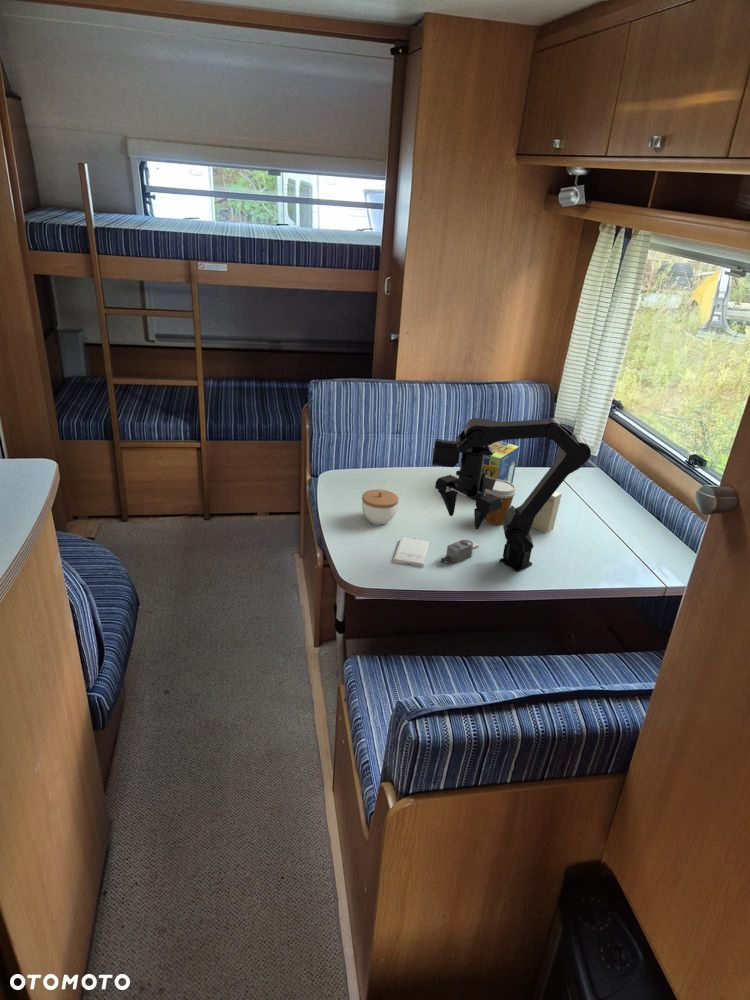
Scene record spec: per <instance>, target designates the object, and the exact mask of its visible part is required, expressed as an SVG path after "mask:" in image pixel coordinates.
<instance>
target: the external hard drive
mask: <svg viewBox="0 0 750 1000" xmlns="http://www.w3.org/2000/svg"><path fill="white" fill-rule="evenodd" d="M430 544H431V543H430V541H429V540H423V539H416V538H412V537H411V538H409V537H404V536H403V537H400V541H399V543H398V547H397V550H396V551H395V553H394V554H395V555H394V557H393V563H397V562H398V564H405V565H410V564H411V565H410V566H415V565H416V567H421V566H425V564H426V559H427V555H428V552H429V549H428V548H430Z"/></svg>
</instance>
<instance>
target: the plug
mask: <svg viewBox="0 0 750 1000" xmlns="http://www.w3.org/2000/svg"><path fill="white" fill-rule="evenodd" d="M446 547H447V548H446V555H445V556H444V557H441V558H440V562H441V563H448V564H450V563H451V565H457V564H459V563H461V562H464V561H466V560H468V559H470V558H471V557H472V554H473V551H474V550H476V549H479V544H478V543H476V542H474V541H472V540H470V539H465V538H464V539H461V540H458V541H455V542H453V543H451V544H448V545H447V546H446ZM446 561H447V562H446Z"/></svg>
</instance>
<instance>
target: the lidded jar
mask: <svg viewBox="0 0 750 1000" xmlns="http://www.w3.org/2000/svg"><path fill="white" fill-rule="evenodd" d="M361 500H362V501H361V508H362V513H363V515H364V517H365V518H366V519H367V520H369V521H368V522H369V523H370V522H371V523H370V524H372V523H373V525H376V524H377V525H376V526H382V525H381V524H384V525H387V524H388V523H389V522H390V521H391V520H393V518H394V517H395V515H396V512H397V510H398V503H399V496H398V495H397V494H396V493H394V492H392V491H389V490H386V489H378V488H377V489H370V490H367V491H365V492H363V494H362V495H361ZM386 523H387V524H386Z"/></svg>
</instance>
